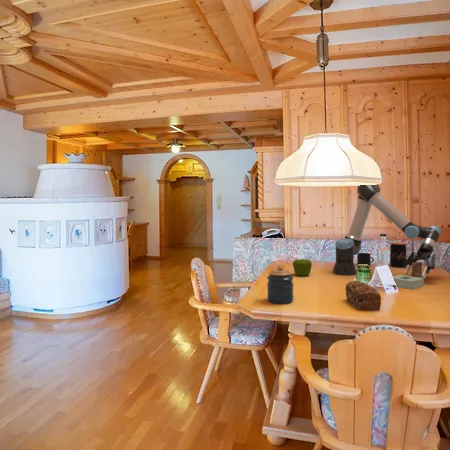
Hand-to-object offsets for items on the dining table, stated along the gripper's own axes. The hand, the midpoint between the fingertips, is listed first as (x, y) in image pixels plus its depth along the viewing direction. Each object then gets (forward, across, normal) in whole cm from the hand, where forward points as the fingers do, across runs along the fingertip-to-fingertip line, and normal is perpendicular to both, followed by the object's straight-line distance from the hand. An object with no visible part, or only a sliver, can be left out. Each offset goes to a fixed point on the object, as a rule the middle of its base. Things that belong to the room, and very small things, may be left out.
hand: (414, 275), depth 213 cm
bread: (+48, -6, +41) cm, 64 cm away
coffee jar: (-29, +34, -36) cm, 57 cm away
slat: (+1, 0, -5) cm, 5 cm away
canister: (+66, +23, +60) cm, 92 cm away
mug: (-19, +52, -26) cm, 61 cm away
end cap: (+10, 0, +4) cm, 11 cm away
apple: (+27, +58, +20) cm, 67 cm away
